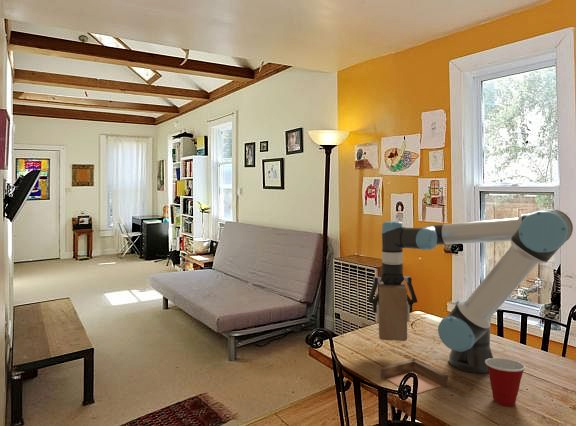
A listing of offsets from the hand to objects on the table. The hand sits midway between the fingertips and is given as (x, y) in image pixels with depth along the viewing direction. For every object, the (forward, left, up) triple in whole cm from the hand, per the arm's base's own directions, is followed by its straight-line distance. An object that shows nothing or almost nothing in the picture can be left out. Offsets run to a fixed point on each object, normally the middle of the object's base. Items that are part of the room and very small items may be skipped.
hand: (392, 321), depth 155 cm
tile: (-3, +20, -14) cm, 25 cm away
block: (0, 0, -6) cm, 6 cm away
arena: (-3, +20, -14) cm, 25 cm away
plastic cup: (-27, +31, -15) cm, 43 cm away
